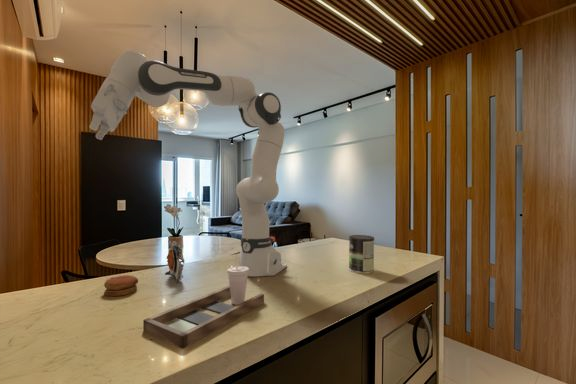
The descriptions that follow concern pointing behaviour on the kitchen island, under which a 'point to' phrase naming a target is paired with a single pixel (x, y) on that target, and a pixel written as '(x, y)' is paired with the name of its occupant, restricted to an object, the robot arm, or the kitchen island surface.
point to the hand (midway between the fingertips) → (95, 134)
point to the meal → (175, 260)
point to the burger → (120, 285)
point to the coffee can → (361, 253)
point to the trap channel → (197, 318)
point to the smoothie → (237, 282)
